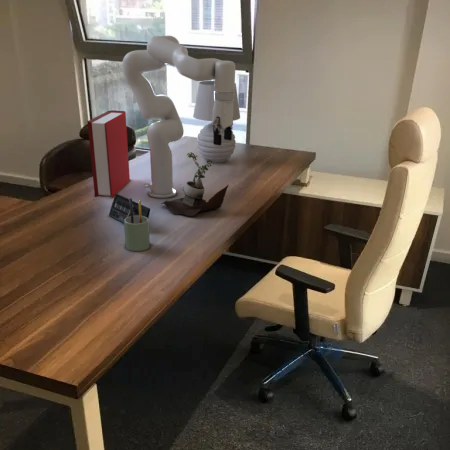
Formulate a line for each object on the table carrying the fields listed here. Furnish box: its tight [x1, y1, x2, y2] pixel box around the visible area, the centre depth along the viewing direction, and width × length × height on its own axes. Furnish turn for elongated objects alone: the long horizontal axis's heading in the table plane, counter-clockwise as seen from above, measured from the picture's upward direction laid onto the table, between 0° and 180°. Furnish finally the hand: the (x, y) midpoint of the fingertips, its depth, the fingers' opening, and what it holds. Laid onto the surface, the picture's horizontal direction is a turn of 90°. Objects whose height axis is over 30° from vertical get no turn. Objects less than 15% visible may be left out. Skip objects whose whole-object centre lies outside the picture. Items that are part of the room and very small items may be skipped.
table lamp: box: [192, 80, 241, 163], centre depth 279 cm, size 25×25×40 cm
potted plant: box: [160, 151, 230, 217], centre depth 214 cm, size 20×19×25 cm
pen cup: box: [123, 197, 151, 252], centre depth 179 cm, size 8×8×18 cm
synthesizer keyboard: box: [108, 193, 151, 224], centre depth 200 cm, size 22×10×10 cm
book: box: [87, 109, 131, 198], centre depth 233 cm, size 27×8×32 cm, turn 172°
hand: (222, 142), depth 205 cm, fingers open, 9 cm apart
